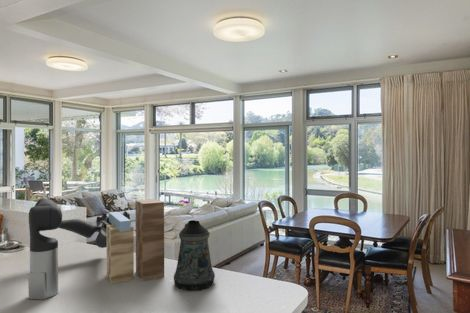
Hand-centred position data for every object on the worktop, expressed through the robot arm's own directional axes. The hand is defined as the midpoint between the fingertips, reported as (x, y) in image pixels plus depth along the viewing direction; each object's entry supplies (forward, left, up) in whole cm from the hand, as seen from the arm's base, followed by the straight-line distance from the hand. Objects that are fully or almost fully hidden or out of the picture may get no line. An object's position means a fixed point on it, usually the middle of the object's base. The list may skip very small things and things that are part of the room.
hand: (115, 214), depth 149 cm
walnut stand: (-2, -16, -26) cm, 30 cm away
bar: (-5, -4, -4) cm, 7 cm away
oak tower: (-6, -4, -26) cm, 27 cm away
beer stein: (-10, -36, -26) cm, 45 cm away
